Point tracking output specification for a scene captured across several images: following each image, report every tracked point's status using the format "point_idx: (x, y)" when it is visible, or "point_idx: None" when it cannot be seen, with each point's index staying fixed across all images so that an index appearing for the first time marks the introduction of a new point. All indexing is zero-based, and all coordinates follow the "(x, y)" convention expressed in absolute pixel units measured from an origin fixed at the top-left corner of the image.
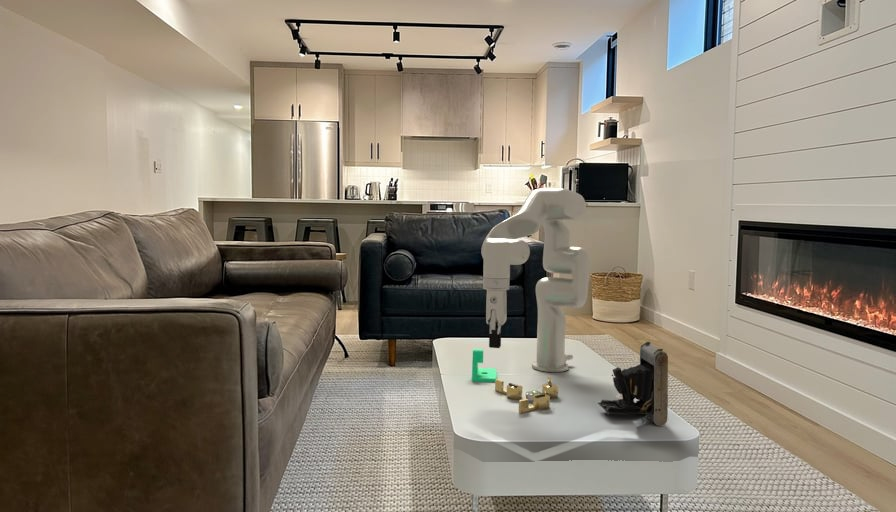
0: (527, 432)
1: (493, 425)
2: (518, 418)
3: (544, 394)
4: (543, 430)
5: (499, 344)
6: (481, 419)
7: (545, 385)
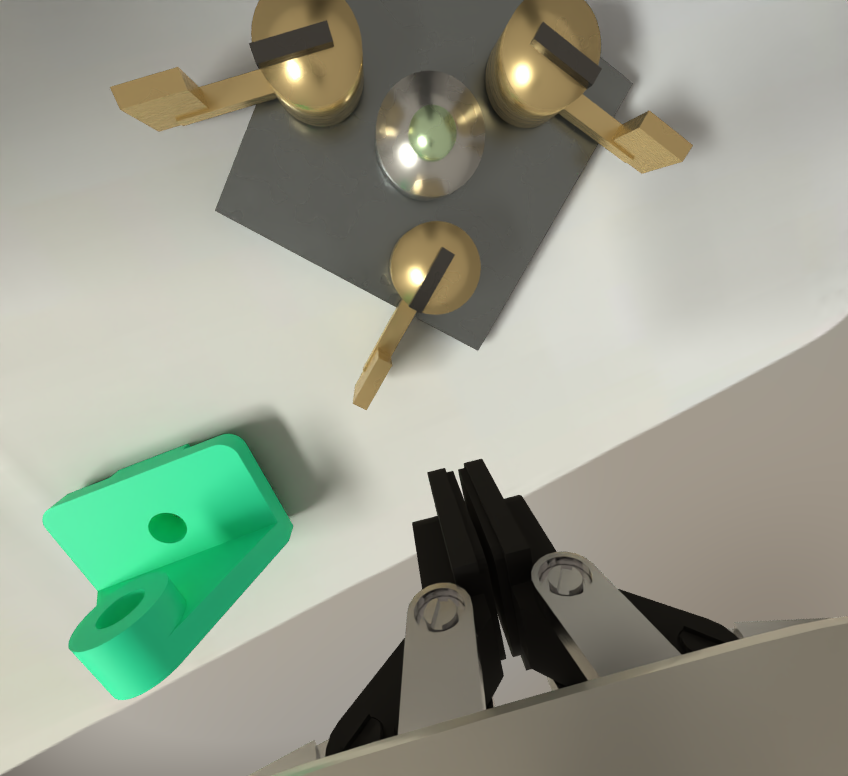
0: (783, 83)
1: (736, 250)
2: (633, 175)
3: (547, 25)
4: (748, 11)
5: (489, 479)
6: (685, 318)
7: (315, 82)
